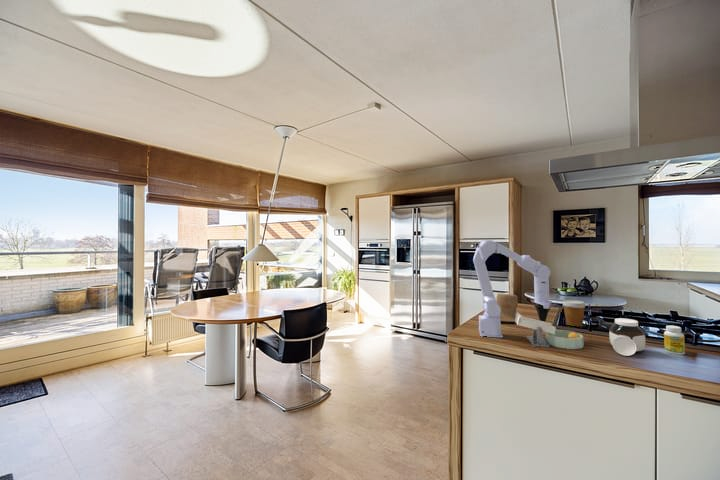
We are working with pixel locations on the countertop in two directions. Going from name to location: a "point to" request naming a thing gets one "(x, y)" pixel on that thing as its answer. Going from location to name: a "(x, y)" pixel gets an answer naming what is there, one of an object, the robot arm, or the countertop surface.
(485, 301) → the robot arm
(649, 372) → the countertop surface
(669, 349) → the supplement bottle
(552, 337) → the green round bowl
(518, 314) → the tipping trough
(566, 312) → the disposable coffee cup
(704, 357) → the countertop surface
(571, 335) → the ball
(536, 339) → the launcher stand
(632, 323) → the spread jar
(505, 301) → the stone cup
